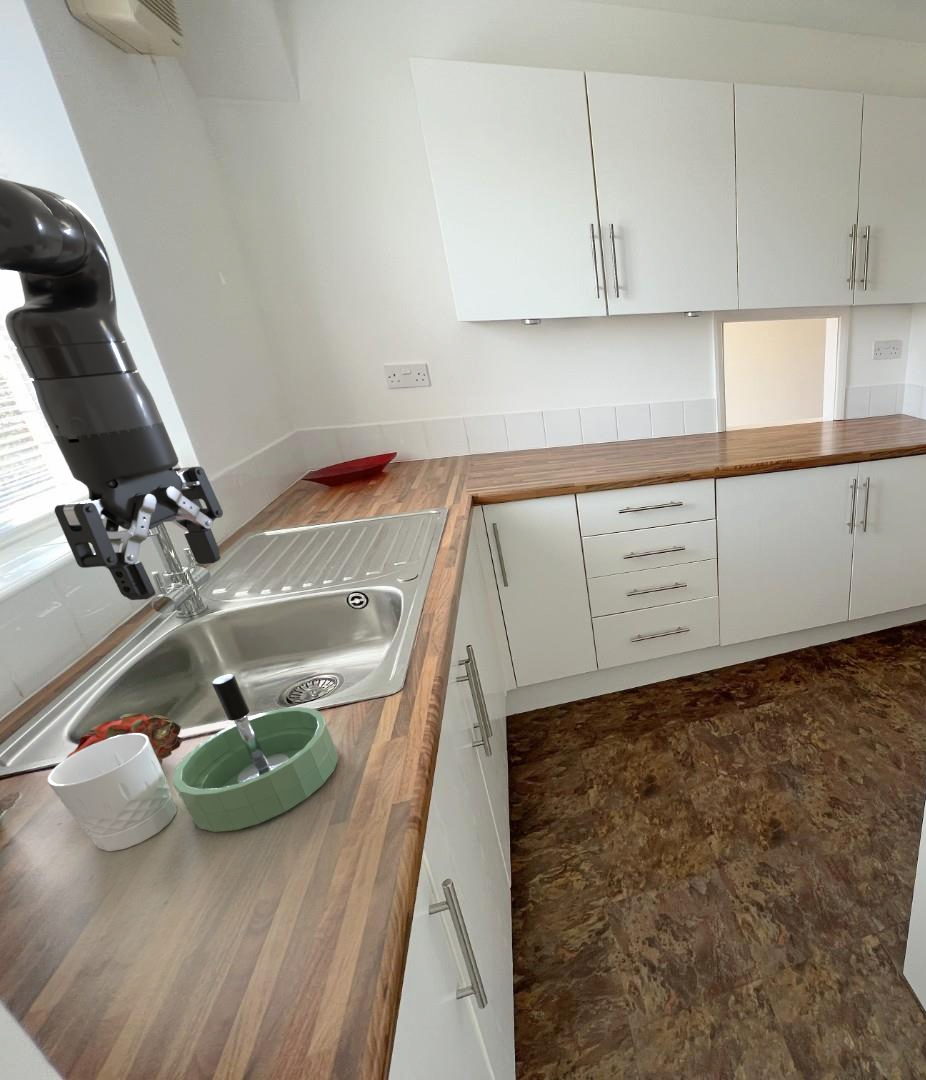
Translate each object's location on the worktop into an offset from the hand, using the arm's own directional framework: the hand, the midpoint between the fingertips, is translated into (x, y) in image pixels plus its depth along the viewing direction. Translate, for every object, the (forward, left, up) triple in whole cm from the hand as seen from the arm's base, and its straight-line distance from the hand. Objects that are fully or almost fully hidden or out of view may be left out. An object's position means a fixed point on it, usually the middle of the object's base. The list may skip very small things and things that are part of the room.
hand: (178, 579), depth 61 cm
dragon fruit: (-20, +4, -28) cm, 35 cm away
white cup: (-11, -5, -28) cm, 31 cm away
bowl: (0, 0, -28) cm, 28 cm away
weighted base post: (0, 0, -28) cm, 28 cm away
